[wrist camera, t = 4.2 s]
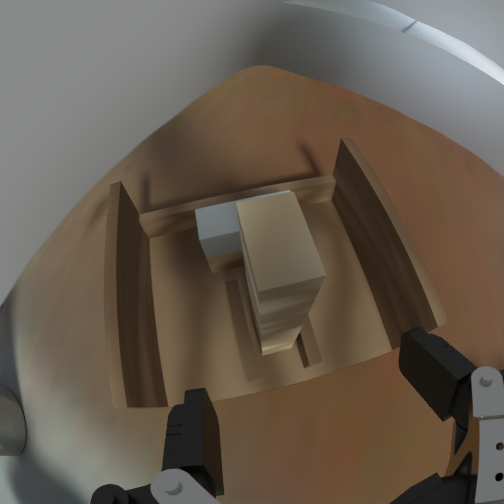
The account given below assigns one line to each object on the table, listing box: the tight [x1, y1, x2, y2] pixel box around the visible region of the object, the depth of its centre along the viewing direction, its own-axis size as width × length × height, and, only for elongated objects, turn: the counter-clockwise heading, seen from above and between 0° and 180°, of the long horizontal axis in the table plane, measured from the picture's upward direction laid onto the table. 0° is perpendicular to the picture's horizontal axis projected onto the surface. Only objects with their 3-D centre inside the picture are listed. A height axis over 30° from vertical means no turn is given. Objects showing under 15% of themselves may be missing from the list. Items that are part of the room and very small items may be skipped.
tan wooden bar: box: [236, 191, 326, 355], centre depth 18 cm, size 2×4×15 cm, turn 13°
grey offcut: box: [195, 190, 291, 258], centre depth 24 cm, size 8×3×3 cm, turn 103°
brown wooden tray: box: [104, 137, 448, 409], centre depth 23 cm, size 22×18×9 cm
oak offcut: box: [206, 251, 245, 273], centre depth 27 cm, size 8×3×3 cm, turn 103°
